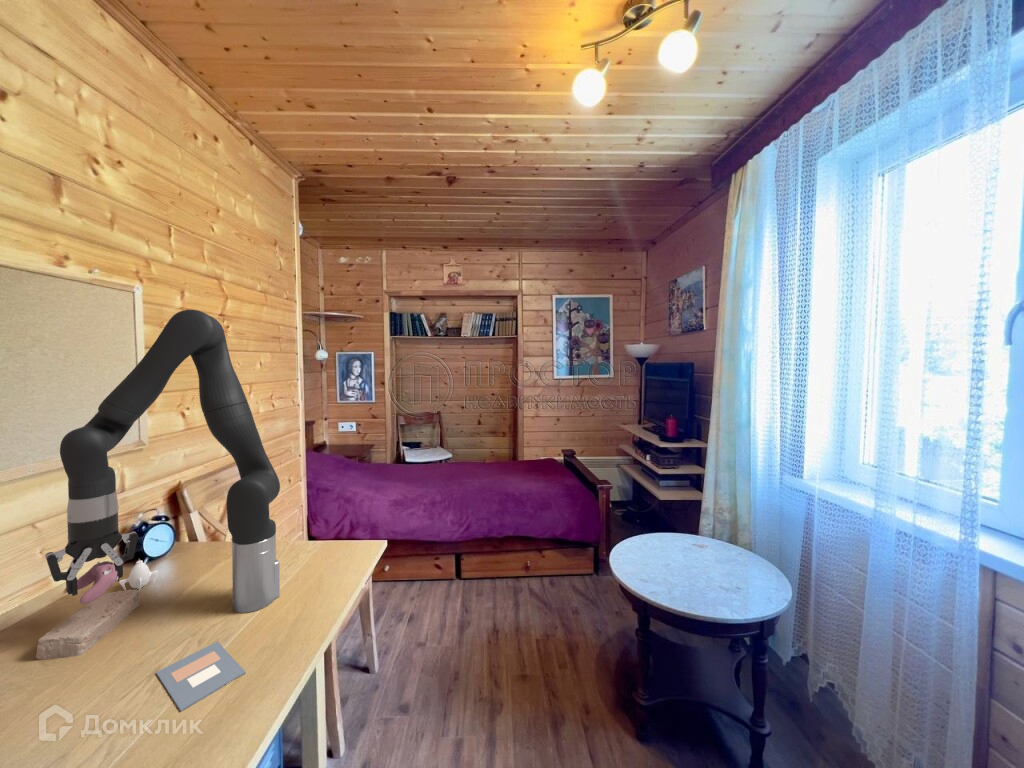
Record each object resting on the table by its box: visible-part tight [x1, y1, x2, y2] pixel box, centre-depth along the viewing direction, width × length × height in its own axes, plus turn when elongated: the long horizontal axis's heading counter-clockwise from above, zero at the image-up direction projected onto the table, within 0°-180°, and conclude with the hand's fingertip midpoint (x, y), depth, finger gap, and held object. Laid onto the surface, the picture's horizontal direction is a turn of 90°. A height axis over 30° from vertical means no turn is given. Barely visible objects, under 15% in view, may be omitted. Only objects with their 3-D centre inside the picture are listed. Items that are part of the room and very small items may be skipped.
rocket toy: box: [118, 558, 160, 590], centre depth 100 cm, size 5×5×8 cm
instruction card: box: [155, 641, 246, 712], centre depth 74 cm, size 10×14×1 cm
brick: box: [35, 589, 142, 661], centre depth 84 cm, size 17×8×5 cm, turn 13°
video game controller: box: [77, 560, 118, 605], centre depth 84 cm, size 10×5×7 cm, turn 57°
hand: (95, 586), depth 84 cm, fingers closed on video game controller, 5 cm apart
